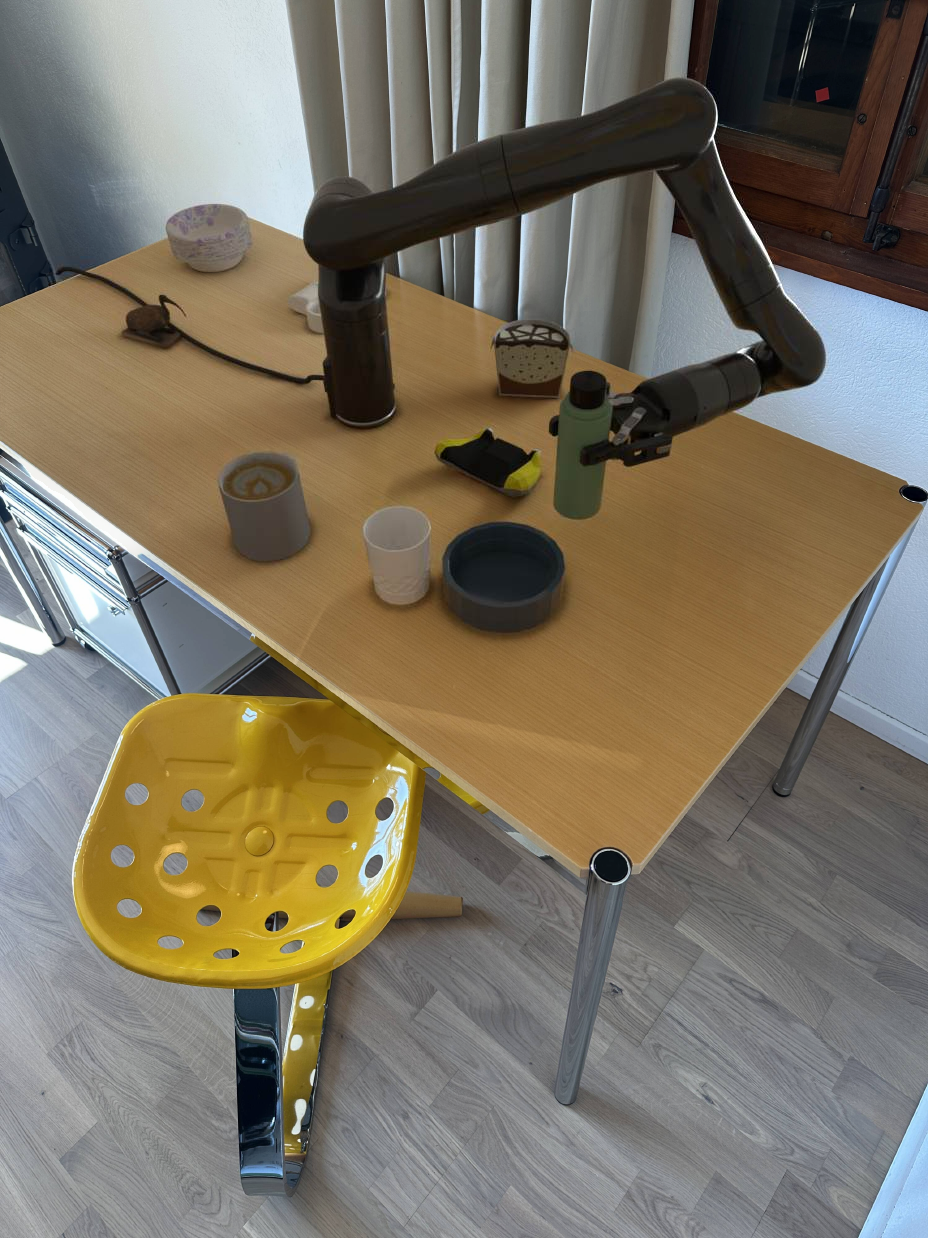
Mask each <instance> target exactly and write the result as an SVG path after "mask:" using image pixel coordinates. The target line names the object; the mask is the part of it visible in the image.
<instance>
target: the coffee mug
mask: <svg viewBox="0 0 928 1238" xmlns="http://www.w3.org/2000/svg"><path fill="white" fill-rule="evenodd" d="M217 486H218V490H219V493H220V496H221V501H222V504H223V507H224V510H225V514H226V517H227V521H228V524H229V527H230V531H231V535H232V538H233V542H234V545H235V548H236V549H237V551H238V552H239V553H240V555H243V556H244V557H246V558H247V559H250V560H253V561H258V562H265V563H266V562H276V561H281V560H284V559H287V558H289V557H292V556H294V555H296V554H297V553H298V552H300V551H301V550H302V549H303V548H305V546H306V545H307V543H308V541H309V540H310V538H311V526H310V521H309V517H308V512H307V511H308V510H307V506H306V500H305V496H304V491H303V485H302V481H301V475H300V471H299V467H298V462H297V460H296V458H295V456H294V455H292V454H290V453H286V452H284V453H281V452H276V451H265V450H264V451H253V452H249V453H246V454H242V455H241V456H238V457H236V458H234V459H232V460H230V461H229V462H228V463H227V464H225V465H224V466H223V467H222V469H221V471H220V472H219V475H218V478H217Z"/></svg>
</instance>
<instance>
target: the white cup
mask: <svg viewBox="0 0 928 1238" xmlns="http://www.w3.org/2000/svg"><path fill="white" fill-rule="evenodd" d="M431 528H432V527H431V522H430V519H429V518H428V516H427V515H426V514H425V513H423V512H422V511H420V510H419V509H416V508H414V507H411V506H405V505H393V506H387V507H384V508H383V507H382V508H381V509H378V510H377V511H375V512H373V513H371V514H370V515H369V516H368V517H367V519H365V521H364V523H363V525H362V536H363V541H364V545H365V551H366V556H367V562H368V565H369V570H370V574H371V577H372V580H373V585H374V591H375V593H376V594H377V595H378V597H379V598H380V600H381V601H384V602H387V603H388V604H391V605H399V606H404V605H409V604H412V603H416V602H418V601H419V600H421V599H422V598H424V597H425V596H426V594H427V592H428V591H429V589H430V573H431V561H432V560H431V559H432V558H431V557H432V552H431V551H432V548H431V547H432V546H431V545H432V543H431V542H432V541H431V540H432V539H431V535H432V533H431V532H432V531H431V530H432V529H431Z"/></svg>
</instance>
